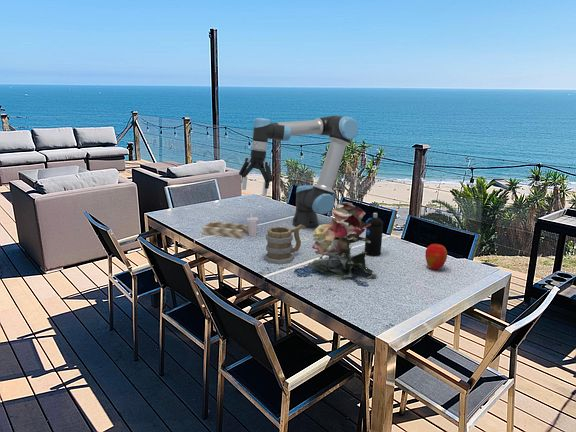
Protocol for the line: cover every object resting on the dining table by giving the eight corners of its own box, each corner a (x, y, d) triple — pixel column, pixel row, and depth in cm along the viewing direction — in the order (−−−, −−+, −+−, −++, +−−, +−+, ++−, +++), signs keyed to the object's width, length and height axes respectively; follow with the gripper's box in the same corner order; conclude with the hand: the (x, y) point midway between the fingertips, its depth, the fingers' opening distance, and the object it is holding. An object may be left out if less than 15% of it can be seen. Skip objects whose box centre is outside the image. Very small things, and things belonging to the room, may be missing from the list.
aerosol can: (382, 251, 213) (385, 212, 207) (380, 257, 205) (383, 216, 200) (365, 249, 215) (368, 210, 210) (362, 255, 208) (365, 214, 203)
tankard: (272, 265, 193) (273, 233, 189) (261, 256, 204) (261, 225, 200) (311, 258, 202) (312, 227, 198) (298, 250, 213) (299, 220, 209)
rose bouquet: (351, 254, 208) (355, 193, 200) (383, 278, 182) (388, 208, 174) (301, 260, 200) (302, 196, 192) (326, 285, 174) (329, 212, 166)
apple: (442, 274, 187) (445, 247, 184) (421, 269, 191) (424, 243, 188) (447, 267, 194) (450, 241, 191) (427, 263, 199) (429, 238, 196)
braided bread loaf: (249, 231, 240) (249, 224, 239) (241, 238, 229) (241, 231, 228) (212, 228, 246) (212, 221, 245) (203, 234, 235) (202, 227, 234)
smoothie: (246, 234, 237) (246, 208, 233) (258, 233, 237) (258, 208, 234) (246, 237, 231) (246, 212, 227) (258, 237, 231) (258, 211, 227)
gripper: (234, 146, 219) (230, 187, 224) (274, 153, 206) (268, 197, 210) (244, 146, 225) (240, 187, 230) (283, 153, 212) (278, 196, 216)
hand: (253, 192), depth 220 cm, fingers open, 13 cm apart
